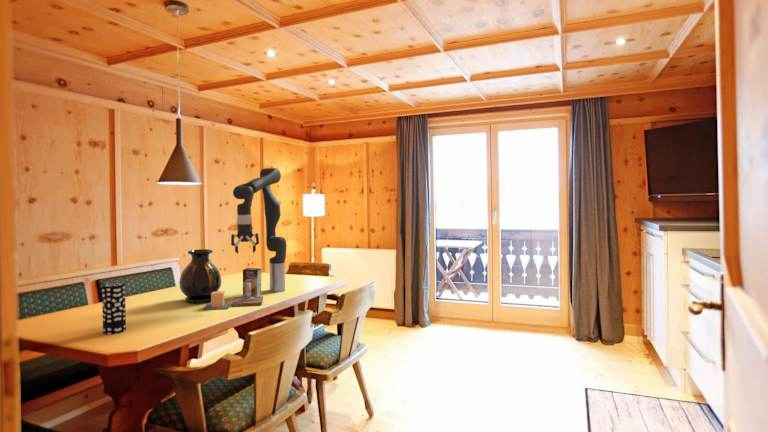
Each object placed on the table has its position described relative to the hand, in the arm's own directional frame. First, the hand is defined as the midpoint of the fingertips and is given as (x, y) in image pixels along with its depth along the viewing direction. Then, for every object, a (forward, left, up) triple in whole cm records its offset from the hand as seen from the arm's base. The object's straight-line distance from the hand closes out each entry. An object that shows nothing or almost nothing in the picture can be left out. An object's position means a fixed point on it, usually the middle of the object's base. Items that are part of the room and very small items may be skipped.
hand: (245, 252), depth 238 cm
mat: (+6, -14, -27) cm, 31 cm away
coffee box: (-16, +2, -28) cm, 32 cm away
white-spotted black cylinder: (+42, -50, -28) cm, 71 cm away
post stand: (0, +1, -27) cm, 27 cm away
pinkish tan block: (+6, -14, -27) cm, 31 cm away
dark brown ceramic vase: (-11, -25, -28) cm, 39 cm away
